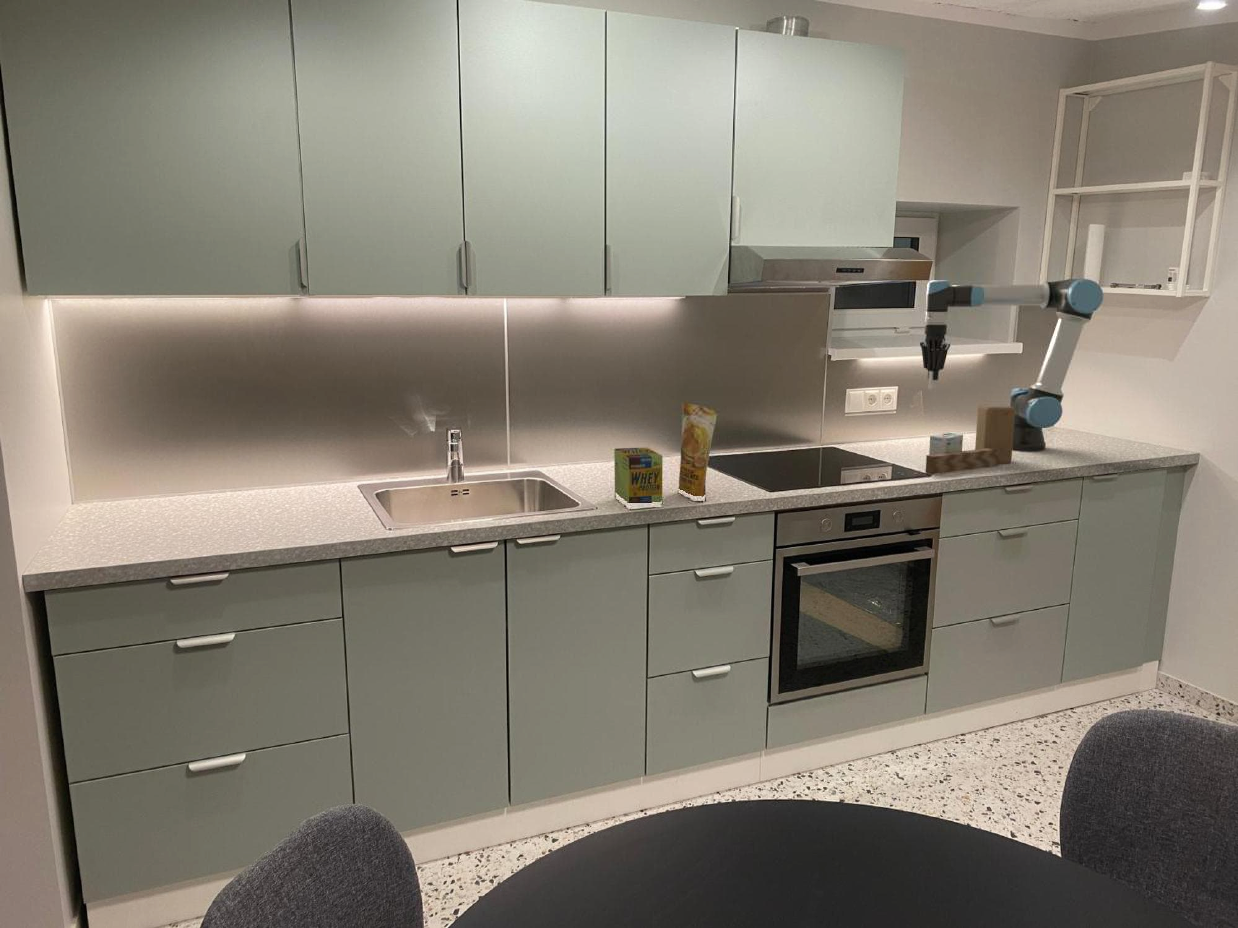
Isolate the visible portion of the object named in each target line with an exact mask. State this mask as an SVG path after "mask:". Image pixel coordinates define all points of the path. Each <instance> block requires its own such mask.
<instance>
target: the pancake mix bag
mask: <svg viewBox="0 0 1238 928" xmlns="http://www.w3.org/2000/svg"><path fill="white" fill-rule="evenodd" d="M681 412H682V413H681V432H680V433H681V434H680V435H681V436H680V437H681V440H680V464H679V474H678V475H679V477H678V489H680V490H683V491H685V492H686V493H688V494H691V495H693V496H702V497H703V496H704V495H705V494H706V495H707V493H706V480H707V478H706V477H707V469H708V466H709V464H708V463H709V458H710V452H711V449H712V443H713V438H714V433H715V430H716V425H717V423H718V417H719V416H718V412H717V410H715V408H711V407H707V406H703V405H700V404H695V403H692V402H691V403H690V402H687V401H686V402H683V403H682V404H681Z"/></svg>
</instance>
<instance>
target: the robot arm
mask: <svg viewBox="0 0 1238 928" xmlns="http://www.w3.org/2000/svg"><path fill="white" fill-rule="evenodd" d="M1103 300H1104V292H1103V289H1102V287H1101V285H1099V283H1097V282H1096V281H1094V280H1092V279H1088V278H1069V279H1063V280H1057V281H1043V282H1042V283H1041V284H980V285H979V284H977V285H976V284H975V285H974V284H973V285H972V284H971V285H968V284H966V285H964V284H963V285H961V284H960V285H958V284H953V285H951V284H950V280H948V279H947V280H942V279H941V280H930V281H928V283H927V288H926V306H925V320H924V321H925V323H926V324H925V325H924V335H926V336H925V339H924V341H921V342H919V346H920V348H921V355H922V356H921V357H922V363H923V369H926V371H927V380H928V381H927V382H928V383H927V385H928V386H927V389H928V390H936V389H937V387H938V386H937V385H938V380H939V373H940V371H941V370H944V368H945V364H946V360H947V355H948V351H949V349H950V347H951V344H950V343H947V342H946V338H945V335H947V329H948V325H947V323H948V311H949V310H948V309H949V308H975V307H976V308H977V307H981V306H982V307H983V306H984V307H985V306H987V307H989V306H991V307H992V306H994V307H995V306H996V307H997V306H1003V307H1004V306H1006V307H1008V306H1009V307H1011V306H1013V307H1015V306H1019V307H1020V306H1021V307H1022V306H1023V307H1024V306H1025V307H1026V306H1039V307H1040V308H1041V309H1053V310H1056V311H1055V314H1056V316H1057V318H1058V320H1057V321H1056V325H1055V328H1054V331H1053V334H1052V337H1051V339H1050V343H1049V345H1048V348H1047V351H1046V353H1045V357H1044V359H1043V363H1042V364H1041V365H1042V366H1041V368H1040V371H1039V373H1038V377H1037V380H1036V383H1034V384H1032V385H1030V387H1029V388H1027V387H1025V388H1022V387H1021V388H1020V387H1019V388H1018V387H1017V388H1013V389H1012V390H1011V395H1010V396H1009V397H1010V398H1009V399H1010V403H1009V404H1010V405H1009V406H1011V407H1013V408H1015V420H1014V433H1013V446H1012V451H1016V452H1017V451H1018V452H1019V451H1020V452H1041V451H1045V450H1046V445H1047V443H1046V441H1045V438H1044V432H1043V429H1045V428H1051V427H1053V426H1054V425H1056V424H1057V423H1058V422H1059V421H1060V420H1061V418H1062V415H1063V406H1062V401H1063V398H1064V392H1063V391H1062V388H1063V385H1064V381H1065V380H1066V379H1065V378H1066V376H1067V373H1068V371H1069V367H1070V365H1071V362H1072V360H1073V356H1074V355H1075V351H1076V349H1077V345H1078V342H1079V339H1080V337H1081V333H1082V331H1083V328H1084V325H1086V324H1088V323H1089V322H1090V321H1091V320H1092V317H1093V314H1094V312H1095V311H1097V310H1098V308H1100V307H1101V305H1102V303H1103Z"/></svg>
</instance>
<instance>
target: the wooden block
mask: <svg viewBox="0 0 1238 928" xmlns="http://www.w3.org/2000/svg"><path fill="white" fill-rule="evenodd" d="M976 417H977V418H976V429H975V430H976V433H975V443H974V444H975V446H974V448H975V449H974V450H977V449H985V448H996V449H999V457H998V465H999V464H1011V462H1012V459H1013V450H1012V446H1013V433H1014V420H1015V408H1013V407H1011V406H1010V405H1007V404H1004V403H981V404H978V406H977V416H976Z"/></svg>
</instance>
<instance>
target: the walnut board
mask: <svg viewBox="0 0 1238 928" xmlns="http://www.w3.org/2000/svg"><path fill="white" fill-rule="evenodd" d="M998 457H999V449H996V448H985V449H977V450H975V449H970V450H962V451H959V452H951V453H942V454H934V455H929V454H928V455H927V454H926V459H925V474H928V473H930V474H929V475H938V474H937V473H940V474H945V473H946V474H947V473H953V472H954V473H955V472H960V471H969V470H971V471H972V470H977V469H978V468H979V469H986V468H993V467H998V466H999V464H998Z"/></svg>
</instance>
